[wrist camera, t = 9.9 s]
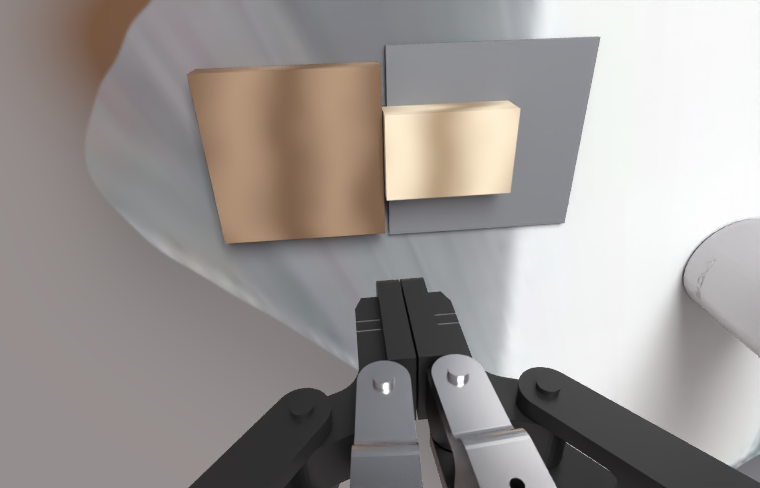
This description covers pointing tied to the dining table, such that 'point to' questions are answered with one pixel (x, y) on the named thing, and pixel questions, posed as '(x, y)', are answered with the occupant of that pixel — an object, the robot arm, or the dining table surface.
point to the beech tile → (449, 149)
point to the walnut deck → (293, 149)
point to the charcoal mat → (535, 131)
